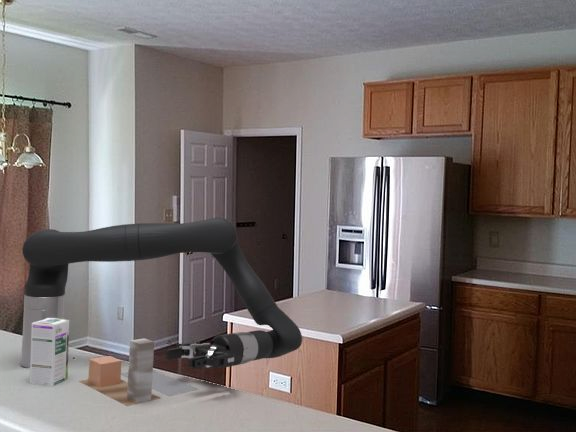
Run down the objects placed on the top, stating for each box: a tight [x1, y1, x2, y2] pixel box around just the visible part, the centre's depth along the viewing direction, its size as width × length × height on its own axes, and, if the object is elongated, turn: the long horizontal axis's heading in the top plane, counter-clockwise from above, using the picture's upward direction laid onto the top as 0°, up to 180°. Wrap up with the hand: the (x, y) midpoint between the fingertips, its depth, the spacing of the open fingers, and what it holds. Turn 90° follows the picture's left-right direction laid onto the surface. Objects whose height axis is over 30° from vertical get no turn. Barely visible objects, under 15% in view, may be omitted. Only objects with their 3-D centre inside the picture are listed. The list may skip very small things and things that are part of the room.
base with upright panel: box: [78, 337, 161, 407], centre depth 126 cm, size 20×8×13 cm, turn 46°
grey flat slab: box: [121, 369, 199, 397], centre depth 134 cm, size 20×8×2 cm, turn 46°
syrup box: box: [29, 318, 70, 387], centre depth 130 cm, size 6×6×14 cm
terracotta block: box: [88, 355, 122, 387], centre depth 131 cm, size 5×5×5 cm
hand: (178, 359), depth 128 cm, fingers open, 8 cm apart
